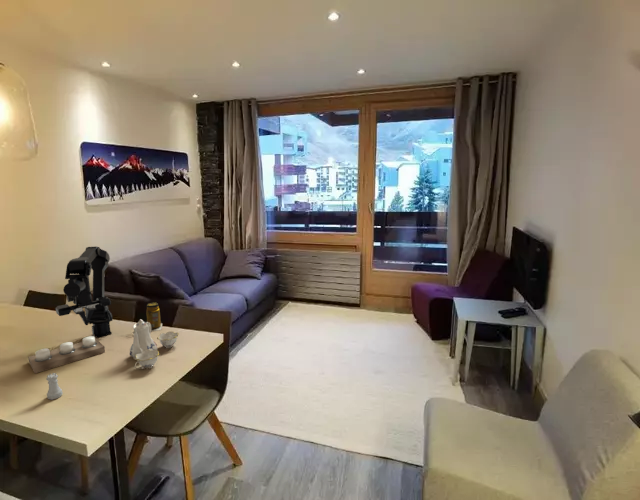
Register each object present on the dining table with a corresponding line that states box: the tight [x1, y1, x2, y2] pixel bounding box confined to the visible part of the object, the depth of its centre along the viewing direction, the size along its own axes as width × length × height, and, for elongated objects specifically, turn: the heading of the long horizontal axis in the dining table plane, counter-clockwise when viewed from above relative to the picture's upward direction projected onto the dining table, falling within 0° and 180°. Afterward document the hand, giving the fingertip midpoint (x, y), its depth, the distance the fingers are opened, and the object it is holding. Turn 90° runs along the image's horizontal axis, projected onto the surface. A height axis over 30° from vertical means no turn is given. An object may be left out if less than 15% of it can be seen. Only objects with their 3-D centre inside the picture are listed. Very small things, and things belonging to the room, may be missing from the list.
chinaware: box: [129, 318, 179, 370], centre depth 150 cm, size 28×17×17 cm, turn 2°
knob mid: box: [59, 341, 74, 354], centre depth 149 cm, size 4×4×3 cm
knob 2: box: [82, 335, 96, 347], centre depth 155 cm, size 4×4×3 cm
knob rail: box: [27, 337, 106, 374], centre depth 150 cm, size 24×12×3 cm, turn 136°
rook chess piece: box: [45, 372, 64, 401], centre depth 123 cm, size 4×4×8 cm
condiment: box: [145, 302, 163, 332], centre depth 179 cm, size 7×8×12 cm
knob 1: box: [34, 347, 51, 361], centre depth 144 cm, size 4×4×3 cm
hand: (86, 324), depth 153 cm, fingers closed
